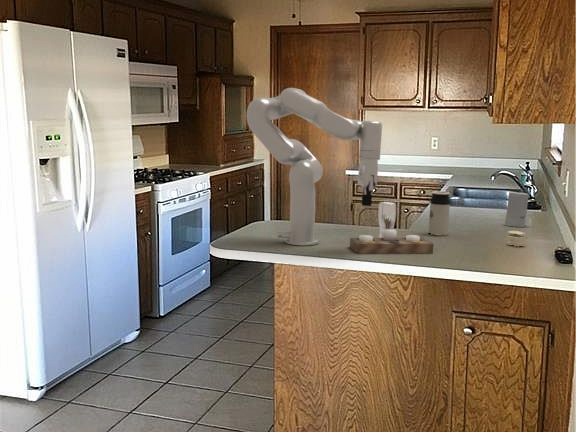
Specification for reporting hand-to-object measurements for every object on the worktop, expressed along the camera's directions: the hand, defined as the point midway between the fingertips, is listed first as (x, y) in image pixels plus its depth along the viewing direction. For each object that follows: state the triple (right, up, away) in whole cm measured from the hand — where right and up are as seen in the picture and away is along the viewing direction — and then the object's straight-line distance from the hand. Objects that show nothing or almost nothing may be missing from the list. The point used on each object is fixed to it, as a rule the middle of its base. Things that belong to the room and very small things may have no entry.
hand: (366, 205), depth 233 cm
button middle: (+9, -13, +3) cm, 16 cm away
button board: (+9, -16, +2) cm, 19 cm away
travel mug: (+35, -12, +38) cm, 53 cm away
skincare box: (+78, -9, +66) cm, 103 cm away
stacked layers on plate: (+61, -16, +17) cm, 65 cm away
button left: (0, -15, +2) cm, 15 cm away
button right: (+18, -15, +5) cm, 24 cm away
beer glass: (+10, -14, +21) cm, 27 cm away
